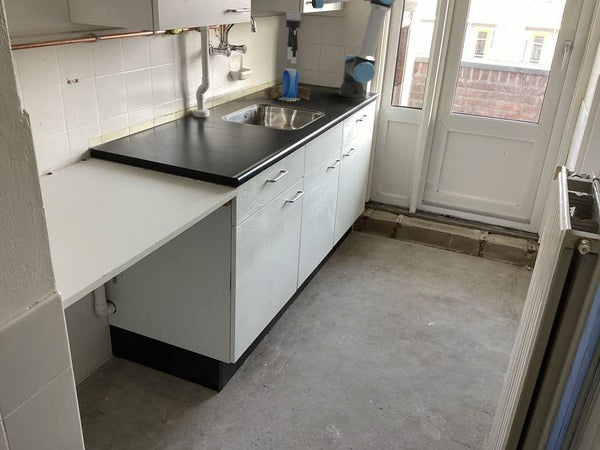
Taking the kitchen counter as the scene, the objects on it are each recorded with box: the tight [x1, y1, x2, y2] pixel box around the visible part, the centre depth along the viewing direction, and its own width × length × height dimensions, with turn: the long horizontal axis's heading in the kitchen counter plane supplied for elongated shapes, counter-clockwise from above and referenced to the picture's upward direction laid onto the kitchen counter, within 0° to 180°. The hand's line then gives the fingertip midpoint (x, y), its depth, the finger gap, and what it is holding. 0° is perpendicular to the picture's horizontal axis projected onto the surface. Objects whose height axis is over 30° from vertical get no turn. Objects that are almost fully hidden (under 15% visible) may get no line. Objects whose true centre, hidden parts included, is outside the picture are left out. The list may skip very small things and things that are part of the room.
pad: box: [277, 97, 301, 103], centre depth 298 cm, size 9×9×1 cm
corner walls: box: [263, 84, 311, 101], centre depth 296 cm, size 20×16×6 cm
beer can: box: [281, 67, 299, 101], centre depth 294 cm, size 8×8×16 cm
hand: (291, 61), depth 289 cm, fingers open, 13 cm apart
